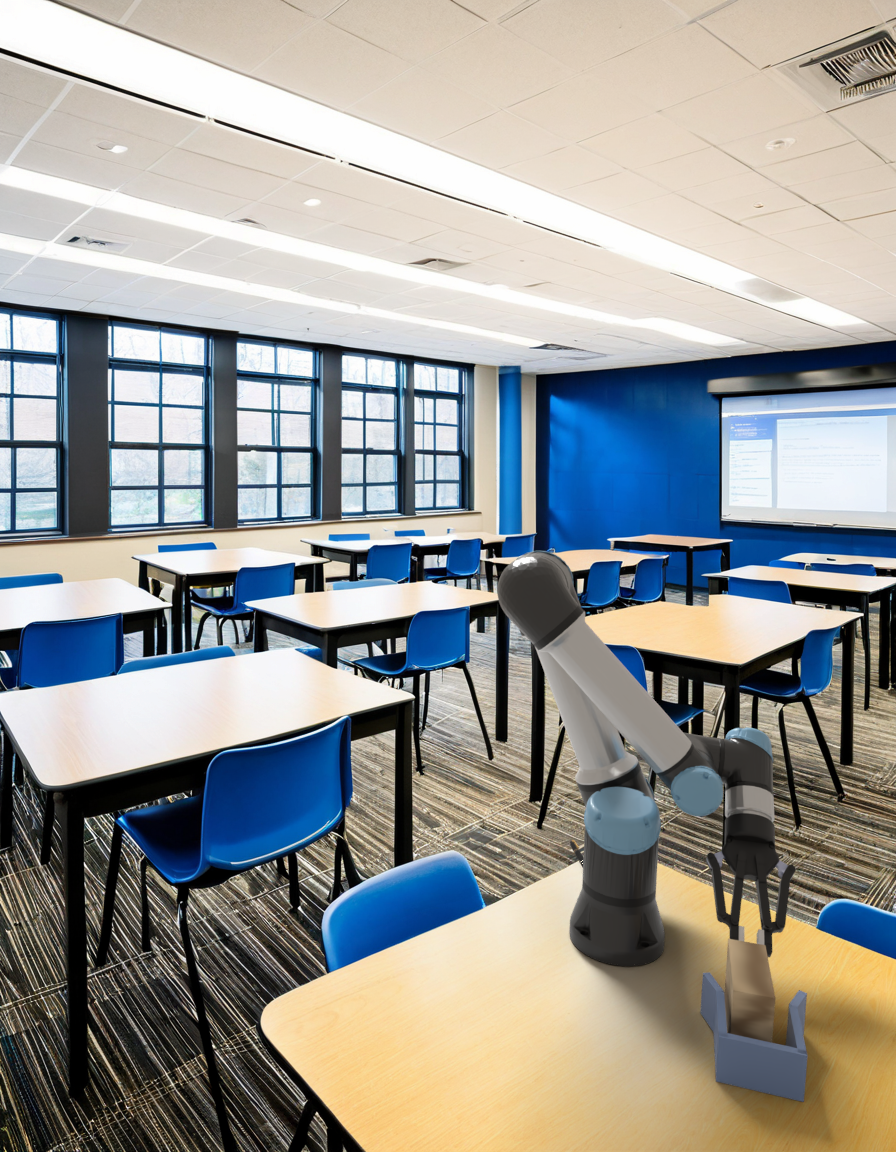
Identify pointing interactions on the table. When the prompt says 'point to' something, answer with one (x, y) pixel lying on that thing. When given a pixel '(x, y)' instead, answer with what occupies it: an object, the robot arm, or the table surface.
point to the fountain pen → (576, 850)
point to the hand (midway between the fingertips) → (751, 977)
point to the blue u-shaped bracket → (757, 1049)
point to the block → (749, 991)
